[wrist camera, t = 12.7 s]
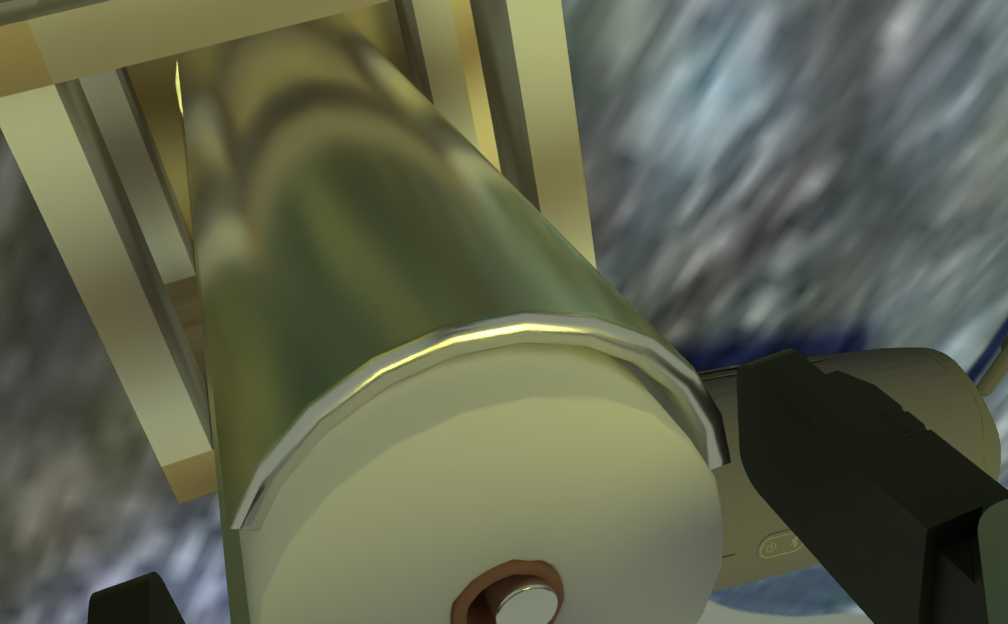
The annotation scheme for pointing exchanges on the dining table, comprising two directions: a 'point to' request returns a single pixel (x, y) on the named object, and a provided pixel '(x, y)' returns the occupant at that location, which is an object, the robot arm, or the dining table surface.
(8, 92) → the collar stand
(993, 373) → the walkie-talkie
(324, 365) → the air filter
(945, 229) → the dining table surface
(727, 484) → the bluetooth speaker
